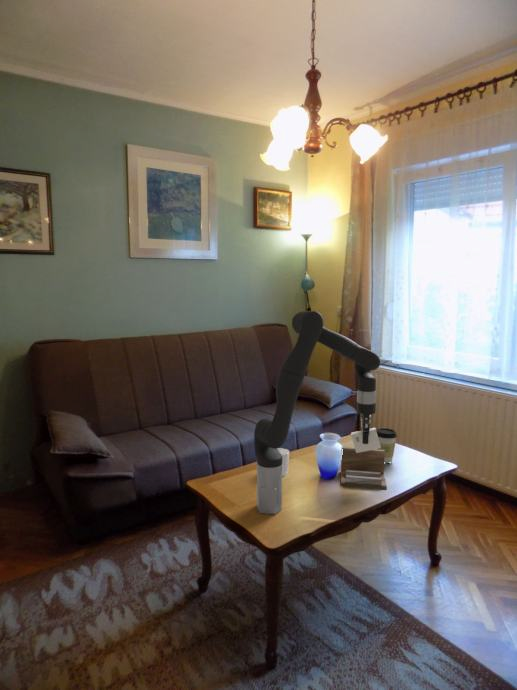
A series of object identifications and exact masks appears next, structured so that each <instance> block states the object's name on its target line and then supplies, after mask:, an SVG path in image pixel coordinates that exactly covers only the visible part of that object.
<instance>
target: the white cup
mask: <svg viewBox="0 0 517 690" xmlns="http://www.w3.org/2000/svg"><path fill="white" fill-rule="evenodd" d="M277 449H278V451H279V452H280V454H281V455H282V477H286V476H287V475H288V474H289V465H290V450H289V449H287V448H282V447H279V448H277Z"/></svg>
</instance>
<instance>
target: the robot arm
mask: <svg viewBox="0 0 517 690" xmlns="http://www.w3.org/2000/svg"><path fill="white" fill-rule="evenodd" d="M291 327H292V329H293V331H294V332H295V333H297V335H298V337H297V340H296V343H295V345H294V346H293V348H292V350H291V351H290V352H289V354H288V355H287V356H286V358H285V359H284V361H283V362H282V364H281V367H280V369H279V372H278V374H277V378H276V381H275V396H276V408H275V412H274V415H273V417H272V418H269V417H264V418H261V419H259V420H258V422H257V423H256V424H255V428H254V432H253V433H254V434H253V435H254V436H253V437H254V438H253V439H254V441H253V442H254V454H255V457H256V509H257V511H258V513H259V514H265V515H266V514H269V515H277V513H279V512H280V511H281V510H282V508H283V476H282V455H281V454H280V452H279V451H278V449H277V448H282V446H283V445H284V444H285V442H286V440H287V438H288V434H289V430H290V426H291V422H292V419H293V412H294V409H295V406H296V404H297V400H298V396H299V393H300V392H301V391H300V390H301V389H302V388H301V387H302V385H303V383H304V379H305V375H306V372H307V369H308V366H309V364H310V361H311V358H312V355H313V351H314V350H315V347H316V345H317V343H320V344H322V345H323V346H325V347H327V348H328V349H331V350H332V351H333V352H335V353H337V355H338V354H339V355H340V356H342V357H344V358H345V359H346V360H349V361H351V362H352V361H353V362H354V369H355V373H356V376H357V392H356V413H358V414H359V415H360V422H361V423H360V427H361V430H363V433H362V434H363V444H368V435H369V430H370V429H371V423H372V417H371V415H374V414H375V413H376V411H377V393H376V392H377V391H376V390H377V389H376V387H377V385H376V384H377V382H376V381H377V379H376V376H374V375H373V374H372V372H371V371H375V370H377V369H378V368H379V367H380V365H381V359H380V356H379V355H378V354H376V353H375V352H373V351H372V350H370V349H368V348H365V347H363V346H361V345H359V344H358V343H357V342H355V341H353V340H352V339H350V338H348V337H347V336H345V335H343V334H340V333H338V332H336V331H333V330H331V329H328V328H327V327H324V318H323V316H322V314H321V313H320V312H319V311H316V310H305V311H299V312H297V313H295V315H293V318H292V319H291ZM364 431H368V432H364Z"/></svg>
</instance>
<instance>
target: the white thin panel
mask: <svg viewBox="0 0 517 690" xmlns="http://www.w3.org/2000/svg"><path fill="white" fill-rule="evenodd" d="M376 430H377V428H376V427H372V428H371V427H370V430H369V435H368V444H363V434H362V433H363V430H362V429H361V430H359V431H358V430H357V431H353V432H350V436H351V439H352V443H353V446H354V447H353V448H355V450H356V453H359V452H364V451H369V450H374V449H379V448H381V447H380V443H379V439H378V435H377V432H376ZM364 432H368V431H364Z"/></svg>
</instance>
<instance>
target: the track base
mask: <svg viewBox="0 0 517 690" xmlns="http://www.w3.org/2000/svg"><path fill="white" fill-rule="evenodd" d="M342 449H343V455H342V460H341V459H340V486H341V487H342V486H343V487H344V486H345V487H346V486H347V487H358V488H368V489H381V490H387V489H388V486H387V481H386V477H385V472H384V470H385V464H384V455H385V450H377V449H374V450H369V451H364V452H359V453H356V450H355V447H346V446H341V450H342Z"/></svg>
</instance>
